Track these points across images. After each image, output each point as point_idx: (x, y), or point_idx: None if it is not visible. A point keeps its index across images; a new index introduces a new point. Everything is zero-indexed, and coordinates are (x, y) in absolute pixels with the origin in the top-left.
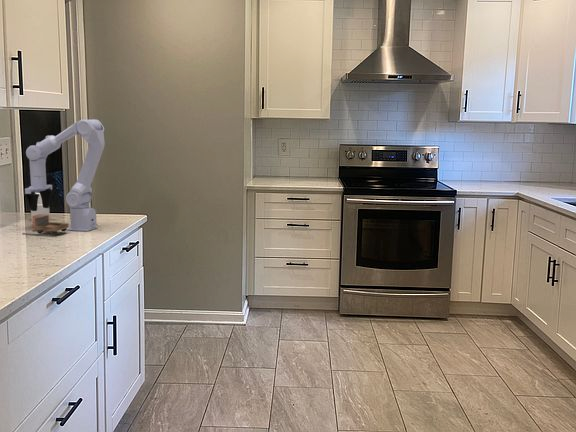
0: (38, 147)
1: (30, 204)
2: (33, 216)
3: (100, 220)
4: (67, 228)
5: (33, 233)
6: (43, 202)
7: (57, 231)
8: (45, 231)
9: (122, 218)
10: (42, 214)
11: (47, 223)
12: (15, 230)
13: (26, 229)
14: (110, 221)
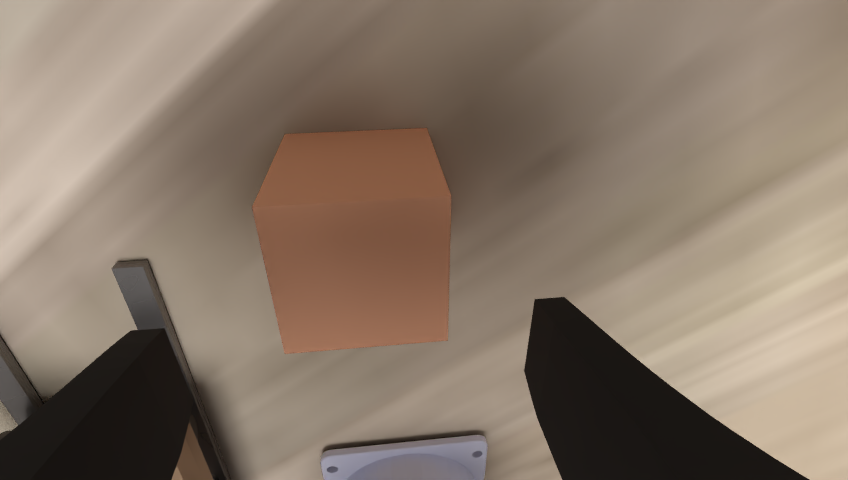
0: None
1: (27, 460)
2: (257, 224)
3: (773, 415)
4: (337, 459)
5: (10, 371)
6: (582, 394)
7: (213, 458)
8: None
9: (840, 474)
10: (441, 256)
11: None
12: (19, 20)
13: (168, 119)
14: None
